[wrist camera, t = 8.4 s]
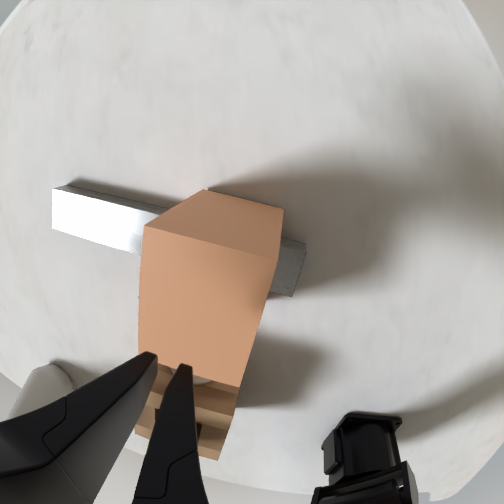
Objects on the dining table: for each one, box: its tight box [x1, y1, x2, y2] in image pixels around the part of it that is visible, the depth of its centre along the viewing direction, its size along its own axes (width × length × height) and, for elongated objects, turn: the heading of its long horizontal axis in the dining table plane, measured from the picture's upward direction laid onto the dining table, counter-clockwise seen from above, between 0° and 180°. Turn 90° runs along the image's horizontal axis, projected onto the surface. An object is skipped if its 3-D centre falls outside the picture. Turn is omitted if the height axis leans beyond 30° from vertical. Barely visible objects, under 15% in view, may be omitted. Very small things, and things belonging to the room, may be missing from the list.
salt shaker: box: [7, 364, 73, 420], centre depth 22 cm, size 6×6×13 cm
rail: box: [52, 185, 306, 297], centre depth 18 cm, size 18×3×2 cm, turn 77°
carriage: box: [138, 189, 284, 387], centre depth 15 cm, size 5×7×8 cm
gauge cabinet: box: [134, 363, 241, 461], centre depth 21 cm, size 7×7×6 cm
